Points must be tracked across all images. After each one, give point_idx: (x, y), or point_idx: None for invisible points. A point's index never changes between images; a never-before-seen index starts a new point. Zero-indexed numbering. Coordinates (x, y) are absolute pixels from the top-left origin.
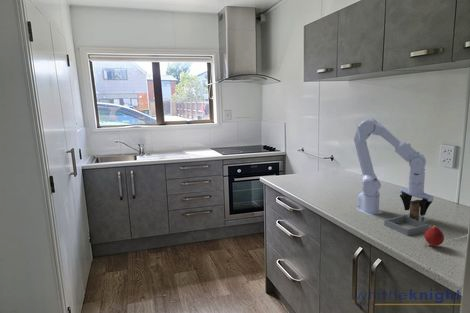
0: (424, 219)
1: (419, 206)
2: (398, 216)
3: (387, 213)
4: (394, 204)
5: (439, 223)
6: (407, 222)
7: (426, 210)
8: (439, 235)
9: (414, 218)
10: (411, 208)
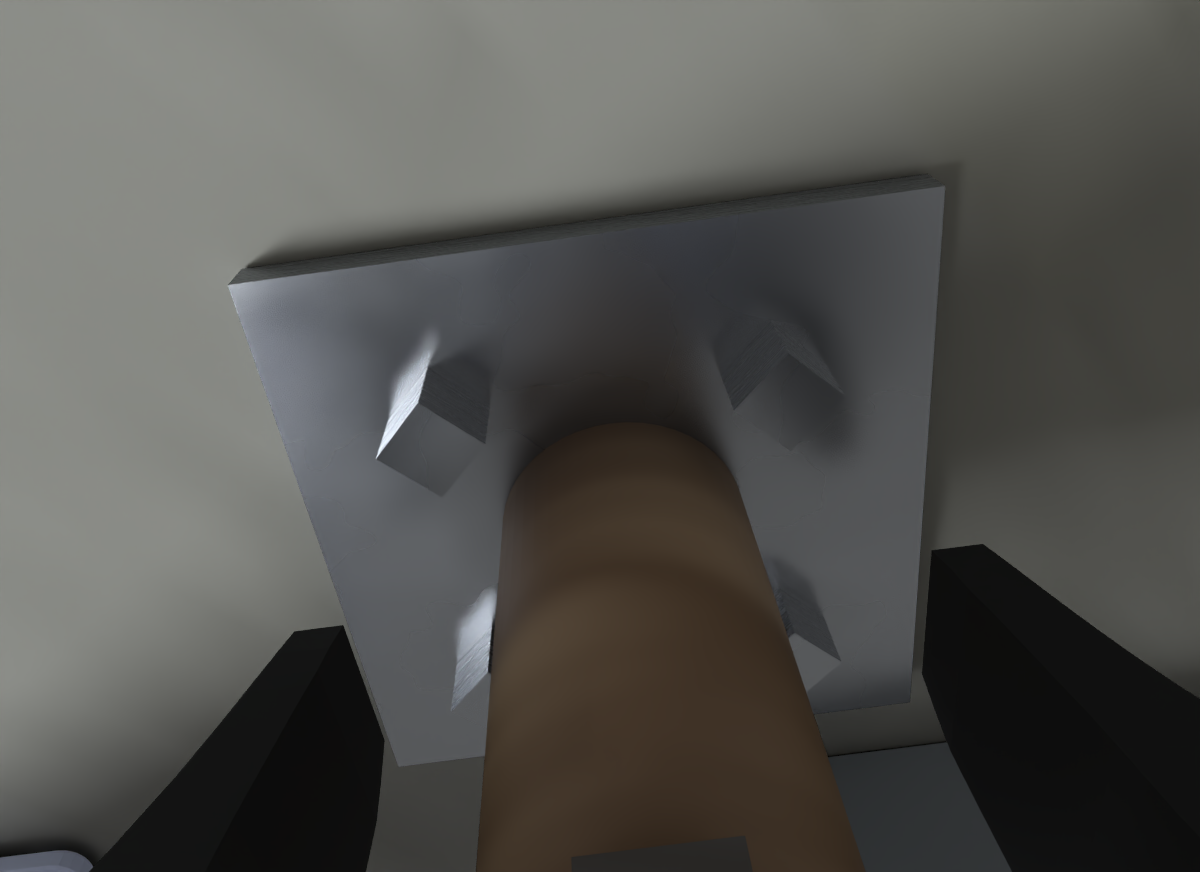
0: (821, 347)
1: (853, 835)
2: (401, 755)
3: (74, 767)
4: None
5: (1181, 53)
6: None
7: (1120, 658)
8: None
9: None
10: None
